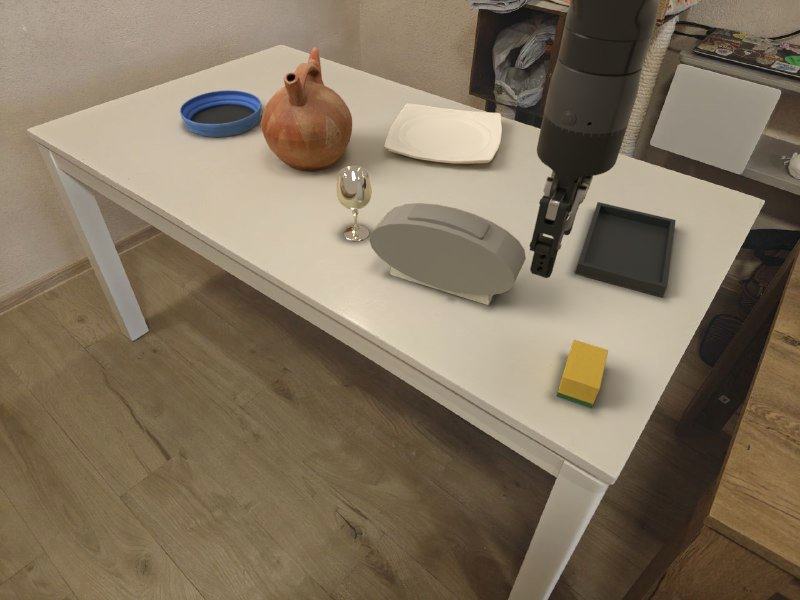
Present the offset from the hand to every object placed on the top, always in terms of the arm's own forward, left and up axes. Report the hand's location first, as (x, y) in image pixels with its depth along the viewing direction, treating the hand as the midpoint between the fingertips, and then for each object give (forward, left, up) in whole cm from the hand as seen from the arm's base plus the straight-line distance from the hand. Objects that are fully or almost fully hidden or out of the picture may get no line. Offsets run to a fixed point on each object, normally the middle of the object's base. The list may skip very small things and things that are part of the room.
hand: (551, 251), depth 61 cm
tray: (-10, -33, -20) cm, 39 cm away
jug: (+55, -38, -20) cm, 70 cm away
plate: (+32, -57, -20) cm, 68 cm away
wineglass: (+34, -18, -20) cm, 43 cm away
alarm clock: (+16, -12, -20) cm, 28 cm away
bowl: (+82, -44, -20) cm, 95 cm away
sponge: (-8, -1, -20) cm, 21 cm away
